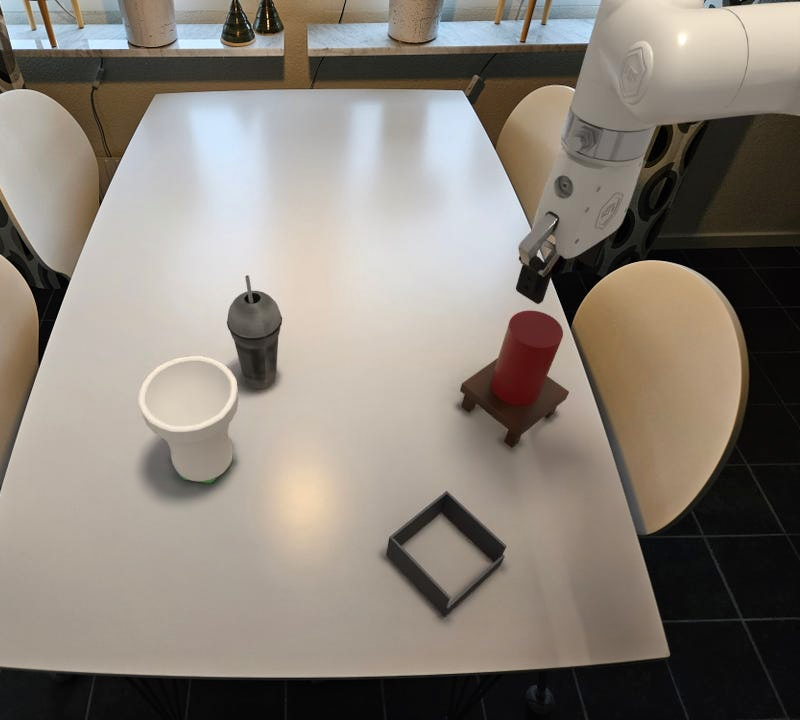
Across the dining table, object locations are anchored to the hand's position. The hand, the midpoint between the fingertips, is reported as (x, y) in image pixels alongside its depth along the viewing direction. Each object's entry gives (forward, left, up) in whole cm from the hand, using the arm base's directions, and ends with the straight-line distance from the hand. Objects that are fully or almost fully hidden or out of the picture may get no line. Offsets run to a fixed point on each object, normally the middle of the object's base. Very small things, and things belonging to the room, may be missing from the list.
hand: (556, 278), depth 71 cm
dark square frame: (-9, +23, -25) cm, 35 cm away
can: (+1, 0, -19) cm, 19 cm away
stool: (0, 0, -24) cm, 24 cm away
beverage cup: (+27, +23, -25) cm, 43 cm away
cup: (+20, +37, -25) cm, 48 cm away
